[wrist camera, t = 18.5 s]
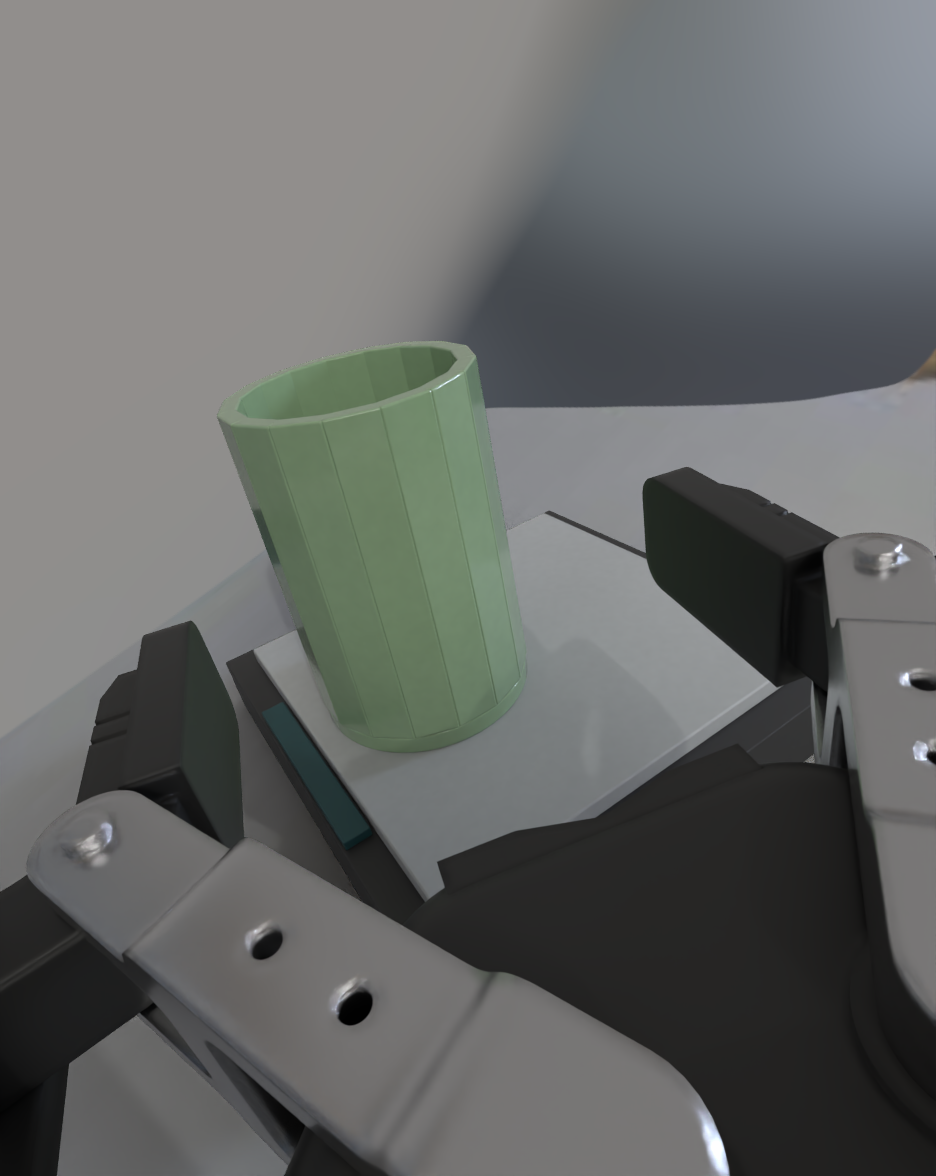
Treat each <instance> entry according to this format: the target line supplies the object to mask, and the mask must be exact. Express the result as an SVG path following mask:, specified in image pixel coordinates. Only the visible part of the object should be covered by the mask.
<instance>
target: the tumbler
mask: <svg viewBox="0 0 936 1176" xmlns="http://www.w3.org/2000/svg"><path fill="white" fill-rule="evenodd" d="M217 418H218V421H219V424H220V426H221V429H222V432H223V434H224V437H225V439H226V442H227V445H228V448H229V450H230V453H231V456H232V458H233V461H234V464H235V466H236V469H237V471H238V474H239V477H240V479H241V482H242V485H243V488H244V491H245V493H246V496H247V499H248V501H249V504H250V507H251V509H252V511H253V514H254V517H255V520H256V523H257V525H258V528H259V531H260V533H261V536H262V539H263V541H264V544H265V547H266V549H267V552H268V555H269V557H270V560H271V563H272V565H273V568H274V571H275V573H276V576H277V579H278V581H279V584H280V587H281V589H282V592H283V595H284V597H285V600H286V603H287V605H288V608H289V611H290V613H291V616H292V619H293V622H294V624H295V627H296V630H297V632H298V635H299V638H300V640H301V643H302V646H303V648H304V651H305V654H306V656H307V659H308V662H309V664H310V667H311V670H312V672H313V675H314V678H315V680H316V683H317V686H318V688H319V691H320V694H321V696H322V699H323V702H324V704H325V705H326V707H327V708H328V710H329V712H330V715H331V718H332V720H333V722H334V724H335V725H336V727H337V728H338V729H339V730H340V731H341V732H342V733H343V734H344V735H345V736H346V737H348V738H349V739H350V740H352V741H354V742H356V743H358V744H360V745H362V746H364V747H367V748H370V749H374V750H379V751H384V752H394V753H414V752H422V751H429V750H434V749H439V748H443V747H446V746H449V745H452V744H456V743H458V742H461V741H463V740H465V739H468V738H470V737H472V736H474V735H476V734H478V733H480V732H481V731H483V730H485V729H486V728H488V727H489V726H491V725H492V724H494V723H495V722H496V721H497V720H499V719H500V718H501V717H502V716H503V715H504V714H505V713H506V712H507V711H508V710H509V709H510V708H511V707H512V706H513V704H514V703H515V702H516V700H517V699H518V698H519V696H520V694H521V692H522V690H523V688H524V685H525V682H526V679H527V671H528V668H527V659H526V653H527V651H526V650H527V649H526V644H525V638H524V632H523V626H522V620H521V614H520V609H519V603H518V597H517V591H516V585H515V579H514V574H513V568H512V562H511V556H510V550H509V544H508V539H507V533H506V527H505V521H504V515H503V509H502V504H501V498H500V492H499V486H498V480H497V474H496V469H495V463H494V457H493V451H492V445H491V439H490V434H489V428H488V422H487V416H486V410H485V404H484V399H483V393H482V387H481V381H480V375H479V369H478V364H477V358H476V356H475V354H474V353H473V352H472V351H471V350H470V349H469V347H468V346H466V345H461V344H456V343H450V342H445V341H420V342H402V343H394V344H387V345H380V346H373V347H367V348H362V349H357V350H352V351H349V352H344V353H339V354H335V355H331V356H326V357H323V358H319V359H316V360H312V361H309V362H306V363H303V364H300V365H296V366H293V367H291V368H287V369H284V370H282V371H279V372H276V373H274V374H272V375H269V376H267V377H265V378H262V379H260V380H258V381H256V382H253V383H251V384H249V385H247V386H245V387H243V388H242V389H240V390H239V391H238V392H236V393H235V394H233V395H232V396H230V397H229V398H227V399H226V400H224V402H223V403H222V405H221V407H220V409H219V411H218V414H217Z"/></svg>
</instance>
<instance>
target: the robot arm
mask: <svg viewBox="0 0 936 1176" xmlns="http://www.w3.org/2000/svg"><path fill="white" fill-rule="evenodd" d="M643 511H644V528H645V545H646V558H647V564H648V567H649V570H650V573H651V575H652V577H653V579H654V581H655V582H656V584H657V585H658V586H659V587H660V588H661V589H662V590H663V591H664V592H665V593H666V594H668V595H669V596H670V597H671V598H672V599H673V600H675V601H676V602H677V603H678V604H679V605H681V606H682V607H683V608H684V609H685V610H686V611H688V612H689V613H690V614H691V615H692V616H693V617H695V618H696V619H697V620H698V621H699V622H700V623H702V624H703V625H704V626H705V627H706V628H708V629H709V630H710V631H711V632H712V633H713V634H715V635H716V636H717V637H718V638H719V639H720V640H722V641H723V642H724V643H725V644H726V645H727V646H729V647H730V648H731V649H732V650H733V651H735V652H736V653H737V654H738V655H739V656H740V657H742V658H743V659H744V660H745V661H746V662H747V663H749V664H750V665H751V666H752V667H753V668H754V669H756V670H757V671H758V672H759V673H760V674H762V675H763V676H764V677H765V678H766V679H767V680H769V681H770V682H771V683H772V684H773V685H774V686H776V687H777V688H778V687H781V686H783V685H786V684H788V683H791V682H794V681H796V680H799V679H801V678H804V677H808V678H810V679H811V680H812V688H811V713H812V728H813V743H814V757H815V763H807V762H770V763H761V764H758V763H757V762H756V761H755V760H754V759H753V758H752V757H751V756H750V755H749V754H748V753H747V752H746V751H745V750H744V749H743V748H742V747H741V746H740V745H739V744H738V743H737V744H735V745H732V746H729V747H727V748H724V749H722V750H719V751H717V752H714V753H712V754H709V755H707V756H704V757H701V758H699V759H696V760H694V761H691V762H689V763H686V764H684V765H681V766H679V767H676V768H674V769H671V770H668V771H667V772H666V773H664V774H663V775H661V776H660V777H659V778H657V779H656V780H654V781H653V782H651V783H650V784H649V785H647V786H646V787H644V788H643V789H642V790H640V791H639V792H637V793H636V794H635V795H633V796H632V797H630V798H629V799H628V800H626V801H625V802H623V803H622V804H620V805H619V806H618V807H616V808H615V809H613V810H612V811H611V812H609V813H607V814H605V815H603V816H600V817H596V818H591V819H585V820H579V821H572V822H566V823H560V824H554V825H548V826H542V827H536V828H530V829H523V830H517V831H514V832H511V833H508V834H506V835H503V836H501V837H498V838H496V839H493V840H491V841H488V842H486V843H483V844H480V845H478V846H475V847H473V848H470V849H468V850H465V851H463V852H460V853H458V854H455V855H453V856H450V857H447V858H445V859H442V860H440V861H437V864H438V868H439V871H440V874H441V877H442V880H443V884H444V887H445V888H443V889H442V890H440V891H439V892H438V893H436V894H435V895H433V896H432V897H431V898H429V899H428V900H427V901H426V902H425V903H424V904H423V905H421V906H420V907H419V908H418V909H417V910H416V911H415V912H414V913H413V914H412V915H411V916H410V917H409V918H408V919H407V920H406V921H405V922H404V924H403V925H400V924H399V923H397V922H395V921H394V920H392V919H390V918H388V917H387V916H385V915H383V914H382V913H380V912H378V911H377V910H375V909H373V908H371V907H370V906H368V905H366V904H365V903H363V902H361V901H359V900H358V899H356V898H354V897H353V896H351V895H349V894H348V893H346V892H344V891H342V890H341V889H339V888H337V887H336V886H334V885H332V884H330V883H329V882H327V881H325V880H324V879H322V878H320V877H318V876H317V875H315V874H313V873H312V872H310V871H308V870H307V869H305V868H303V867H301V866H300V865H298V864H296V863H295V862H293V861H291V860H289V859H288V858H286V857H284V856H283V855H281V854H279V853H278V852H276V851H274V850H272V849H271V848H269V847H267V846H266V845H264V844H262V843H260V842H259V841H257V840H255V839H252V838H249V837H244V830H243V809H242V788H241V767H240V746H239V729H238V723H237V719H236V715H235V711H234V708H233V705H232V702H231V699H230V697H229V694H228V692H227V690H226V688H225V686H224V684H223V681H222V679H221V677H220V675H219V673H218V671H217V668H216V666H215V664H214V662H213V660H212V658H211V655H210V653H209V651H208V649H207V647H206V645H205V643H204V640H203V638H202V636H201V634H200V632H199V630H198V628H197V627H196V625H195V624H194V623H193V622H192V621H188V622H185V623H181V624H178V625H175V626H172V627H169V628H165V629H162V630H159V631H156V632H153V633H149V634H146V635H144V636H143V638H142V643H141V649H140V656H139V662H138V668H137V670H134V671H131V672H127V673H124V674H121V675H118V677H117V678H116V679H115V681H114V682H113V683H112V685H111V686H110V687H109V689H108V690H107V691H106V693H105V694H104V695H103V696H102V698H101V699H100V703H99V707H98V711H97V716H96V720H95V723H96V726H94V729H93V733H92V737H91V743H92V745H91V746H89V750H88V755H87V759H86V763H85V768H84V772H83V776H82V781H81V785H80V789H79V794H78V798H77V802H76V806H74V807H72V808H71V809H69V810H68V811H66V812H65V813H63V814H62V815H61V816H60V817H58V818H57V819H56V820H55V821H54V822H52V823H51V824H50V825H49V826H48V827H47V828H46V829H45V831H44V832H43V833H42V834H41V835H40V837H39V838H38V839H37V841H36V842H35V844H34V846H33V847H32V849H31V851H30V854H29V856H28V860H27V864H26V870H27V875H26V876H25V877H23V878H22V879H21V880H19V881H17V882H16V883H14V884H13V885H11V886H10V887H8V888H6V889H5V890H3V891H1V892H0V1176H57V1169H58V1160H59V1150H60V1141H61V1132H62V1123H63V1114H64V1105H65V1096H66V1087H67V1077H68V1068H69V1063H70V1062H72V1061H73V1060H75V1059H76V1058H77V1057H79V1056H80V1055H81V1054H83V1053H84V1052H86V1051H87V1050H88V1049H90V1048H91V1047H93V1046H94V1045H95V1044H97V1043H98V1042H100V1041H101V1040H102V1039H104V1038H105V1037H106V1036H108V1035H109V1034H111V1033H112V1032H113V1031H115V1030H116V1029H118V1028H119V1027H120V1026H122V1025H123V1024H125V1023H126V1022H127V1021H129V1020H130V1019H131V1018H133V1017H134V1016H136V1015H137V1016H138V1017H139V1018H140V1019H141V1020H142V1021H143V1022H144V1023H145V1024H146V1025H147V1026H149V1027H150V1028H151V1029H152V1030H153V1031H154V1032H155V1033H156V1034H157V1035H158V1036H159V1037H160V1038H161V1039H162V1040H163V1041H164V1042H165V1043H166V1044H168V1045H169V1046H170V1047H171V1048H172V1049H173V1050H174V1051H175V1052H176V1053H177V1054H178V1055H179V1056H180V1057H181V1058H182V1059H183V1060H184V1061H185V1062H187V1063H188V1064H189V1065H190V1066H191V1067H192V1068H193V1069H194V1070H195V1071H196V1072H197V1073H198V1074H199V1075H200V1076H201V1077H202V1078H203V1079H205V1080H206V1081H207V1082H208V1083H209V1084H210V1085H211V1086H212V1087H213V1088H214V1089H215V1090H216V1091H217V1092H218V1093H219V1094H220V1095H221V1096H222V1097H223V1098H224V1099H225V1100H226V1101H227V1102H228V1103H229V1104H230V1105H231V1106H232V1107H233V1108H234V1109H235V1110H236V1111H237V1112H238V1113H239V1115H240V1116H241V1117H242V1118H243V1119H244V1120H245V1121H246V1123H247V1124H248V1125H249V1126H250V1127H251V1128H252V1129H253V1130H254V1131H255V1133H256V1134H257V1135H258V1136H259V1137H260V1138H261V1139H262V1140H263V1141H264V1142H265V1143H266V1144H267V1145H268V1146H269V1147H270V1148H271V1149H272V1150H273V1151H274V1152H275V1153H276V1154H277V1155H278V1156H279V1157H280V1158H281V1159H282V1160H283V1161H284V1162H285V1163H286V1164H287V1165H288V1168H287V1170H286V1173H285V1175H284V1176H936V556H934V555H933V553H932V552H931V551H930V550H929V549H928V548H927V547H926V546H924V545H923V544H921V543H919V542H917V541H914V540H912V539H909V538H906V537H902V536H898V535H893V534H885V533H859V534H852V535H848V536H844V537H841V538H839V537H837V536H836V535H834V534H832V533H830V532H828V531H826V530H824V529H822V528H820V527H818V526H817V525H815V524H813V523H811V522H809V521H807V520H805V519H803V518H801V517H799V516H798V515H796V514H794V513H788V511H787V510H786V509H784V508H782V507H780V506H779V505H777V504H775V503H774V504H771V503H770V501H769V500H767V499H765V498H763V497H762V496H760V495H758V494H756V493H754V492H752V491H750V490H747V489H742V488H738V487H733V486H729V485H725V484H719V483H717V482H716V481H714V480H712V479H710V478H708V477H706V476H705V475H703V474H701V473H699V472H697V471H695V470H694V469H692V468H689V467H684V468H681V469H678V470H675V471H671V472H668V473H665V474H662V475H659V476H655V477H652V478H649V479H647V480H646V481H645V483H644V486H643Z"/></svg>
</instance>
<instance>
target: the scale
mask: <svg viewBox="0 0 936 1176" xmlns="http://www.w3.org/2000/svg"><path fill="white" fill-rule="evenodd" d="M506 533H507V539H508V544H509V550H510V556H511V562H512V568H513V574H514V579H515V585H516V591H517V597H518V603H519V609H520V614H521V620H522V626H523V632H524V638H525V644H526V649H527V650H526V651H527V653H526V659H527V668H528V671H527V679H526V682H525V685H524V688H523V690H522V692H521V694H520V696H519V698H518V699H517V700H516V702H515V703H514V704H513V706H512V707H511V708H510V709H509V710H508V711H507V712H506V713H505V714H504V715H503V716H502V717H501V718H500V719H499V720H497V721H496V722H495V723H494V724H492V725H491V726H489V727H488V728H486V729H485V730H483V731H481V732H480V733H478V734H476V735H474V736H472V737H470V738H468V739H465V740H463V741H461V742H458V743H456V744H452V745H449V746H446V747H443V748H439V749H434V750H429V751H422V752H414V753H394V752H384V751H379V750H374V749H370V748H367V747H364V746H362V745H360V744H358V743H356V742H354V741H352V740H350V739H349V738H348V737H346V736H345V735H344V734H343V733H342V732H341V731H340V730H339V729H338V728H337V727H336V725H335V724H334V722H333V720H332V718H331V715H330V712H329V710H328V708H327V707H326V705H325V704H324V702H323V699H322V696H321V694H320V691H319V688H318V686H317V683H316V680H315V678H314V675H313V672H312V670H311V667H310V664H309V662H308V659H307V656H306V654H305V651H304V648H303V646H302V643H301V640H300V638H299V635H298V632H297V630H294V631H292V632H290V633H288V634H286V635H283V636H281V637H279V638H277V639H275V640H273V641H271V642H268V643H266V644H264V645H262V646H260V647H258V648H256V649H254V650H251V651H249V652H247V653H245V654H243V655H241V656H239V657H237V658H234V659H232V660H230V661H228V662H226V664H227V667H228V669H229V671H230V673H231V675H232V678H233V680H234V682H235V684H236V687H237V689H238V691H239V693H240V695H241V698H242V700H243V702H244V704H245V706H246V708H247V709H248V711H249V713H250V714H251V716H252V718H253V719H254V721H255V723H256V724H257V726H258V728H259V729H260V731H261V733H262V734H263V736H264V738H265V739H266V741H267V743H268V744H269V746H270V748H271V749H272V751H273V753H274V754H275V756H276V758H277V759H278V761H279V763H280V764H281V766H282V768H283V769H284V771H285V773H286V774H287V776H288V778H289V779H290V781H291V783H292V784H293V786H294V788H295V789H296V791H297V793H298V794H299V796H300V798H301V799H302V801H303V803H304V804H305V806H306V808H307V809H308V811H309V813H310V814H311V816H312V818H313V819H314V821H315V823H316V824H317V826H318V828H319V829H320V831H321V833H322V835H323V836H324V838H325V840H326V841H327V843H328V845H329V846H330V848H331V850H332V851H333V853H334V855H335V856H336V858H337V860H338V861H339V863H340V865H341V866H342V868H343V870H344V871H345V873H346V875H347V876H348V878H349V880H350V881H351V883H352V885H353V886H354V888H355V890H356V891H357V893H358V895H359V896H360V898H361V900H362V901H363V903H365V904H366V905H368V906H370V907H371V908H373V909H375V910H377V911H378V912H380V913H382V914H383V915H385V916H387V917H388V918H390V919H392V920H394V921H395V922H397V923H399V924H400V925H403V924H404V922H405V921H406V920H407V919H408V918H409V917H410V916H411V915H412V914H413V913H414V912H415V911H416V910H417V909H418V908H419V907H420V906H421V905H423V904H424V903H425V902H426V901H427V900H428V899H429V898H431V897H432V896H433V895H435V894H436V893H438V892H439V891H440V890H442V889H443V888H445V887H444V884H443V880H442V877H441V874H440V871H439V868H438V864H437V861H440V860H442V859H445V858H447V857H450V856H453V855H455V854H458V853H460V852H463V851H465V850H468V849H470V848H473V847H475V846H478V845H480V844H483V843H486V842H488V841H491V840H493V839H496V838H498V837H501V836H503V835H506V834H508V833H511V832H514V831H517V830H523V829H530V828H536V827H542V826H548V825H554V824H560V823H566V822H572V821H579V820H585V819H591V818H596V817H600V816H603V815H605V814H607V813H609V812H611V811H612V810H613V809H615V808H616V807H618V806H619V805H620V804H622V803H623V802H625V801H626V800H628V799H629V798H630V797H632V796H633V795H635V794H636V793H637V792H639V791H640V790H642V789H643V788H644V787H646V786H647V785H649V784H650V783H651V782H653V781H654V780H656V779H657V778H659V777H660V776H661V775H663V774H664V773H666V772H667V771H668V770H671V769H674V768H676V767H679V766H681V765H684V764H686V763H689V762H691V761H694V760H696V759H699V758H701V757H704V756H707V755H709V754H712V753H714V752H717V751H719V750H722V749H724V748H727V747H729V746H732V745H735V744H737V743H738V744H739V745H740V746H741V747H742V748H743V749H744V750H745V751H746V752H747V753H748V754H749V755H750V756H751V757H752V758H753V759H754V760H755V761H756V762H757V763H758V764H761V763H770V762H804V761H805V760H806V759H808V758H809V757H810V756H812V755H813V754H814V743H813V728H812V713H811V688H812V680H811V679H810V678H808V677H804V678H801V679H799V680H796V681H794V682H791V683H788V684H786V685H783V686H781V687H778V688H777V687H776V686H774V685H773V684H772V683H771V682H770V681H769V680H767V679H766V678H765V677H764V676H763V675H762V674H760V673H759V672H758V671H757V670H756V669H754V668H753V667H752V666H751V665H750V664H749V663H747V662H746V661H745V660H744V659H743V658H742V657H740V656H739V655H738V654H737V653H736V652H735V651H733V650H732V649H731V648H730V647H729V646H727V645H726V644H725V643H724V642H723V641H722V640H720V639H719V638H718V637H717V636H716V635H715V634H713V633H712V632H711V631H710V630H709V629H708V628H706V627H705V626H704V625H703V624H702V623H700V622H699V621H698V620H697V619H696V618H695V617H693V616H692V615H691V614H690V613H689V612H688V611H686V610H685V609H684V608H683V607H682V606H681V605H679V604H678V603H677V602H676V601H675V600H673V599H672V598H671V597H670V596H669V595H668V594H666V593H665V592H664V591H663V590H662V589H661V588H660V587H659V586H658V585H657V584H656V582H655V581H654V579H653V577H652V575H651V573H650V570H649V567H648V564H647V558H646V553H644V552H642V551H640V550H637V549H635V548H633V547H631V546H628V545H626V544H624V543H621V542H619V541H617V540H615V539H612V538H610V537H608V536H606V535H603V534H601V533H599V532H597V531H594V530H592V529H590V528H588V527H585V526H583V525H581V524H579V523H576V522H574V521H572V520H569V519H567V518H565V517H563V516H560V515H558V514H556V513H554V512H551V511H547V512H545V513H543V514H541V515H539V516H537V517H535V518H532V519H530V520H528V521H526V522H524V523H522V524H520V525H518V526H515V527H513V528H511V529H509V530H507V531H506Z"/></svg>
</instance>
